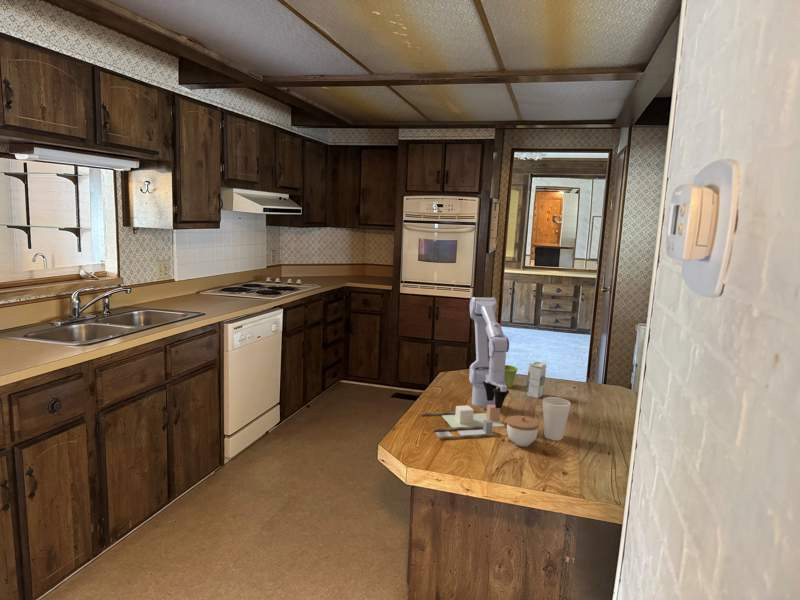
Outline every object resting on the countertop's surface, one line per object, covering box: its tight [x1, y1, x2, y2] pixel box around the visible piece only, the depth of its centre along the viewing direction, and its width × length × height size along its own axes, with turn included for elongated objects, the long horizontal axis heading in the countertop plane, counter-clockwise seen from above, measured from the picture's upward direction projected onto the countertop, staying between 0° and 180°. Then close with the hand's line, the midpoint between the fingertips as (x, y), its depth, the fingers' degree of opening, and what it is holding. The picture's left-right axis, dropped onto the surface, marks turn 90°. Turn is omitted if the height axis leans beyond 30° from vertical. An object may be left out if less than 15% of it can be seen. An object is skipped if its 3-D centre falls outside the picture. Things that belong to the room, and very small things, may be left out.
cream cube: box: [454, 404, 475, 424], centre depth 203 cm, size 5×5×5 cm
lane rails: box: [420, 411, 499, 441], centre depth 199 cm, size 21×23×2 cm
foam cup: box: [541, 396, 572, 441], centre depth 194 cm, size 10×9×13 cm
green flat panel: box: [440, 405, 506, 428], centre depth 204 cm, size 20×13×6 cm, turn 104°
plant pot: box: [504, 364, 519, 389], centre depth 250 cm, size 9×9×9 cm
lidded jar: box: [506, 415, 540, 447], centre depth 188 cm, size 11×11×9 cm
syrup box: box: [525, 361, 547, 399], centre depth 238 cm, size 6×6×14 cm
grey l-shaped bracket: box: [457, 420, 493, 436], centre depth 193 cm, size 12×5×5 cm, turn 105°
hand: (494, 404), depth 206 cm, fingers open, 7 cm apart
